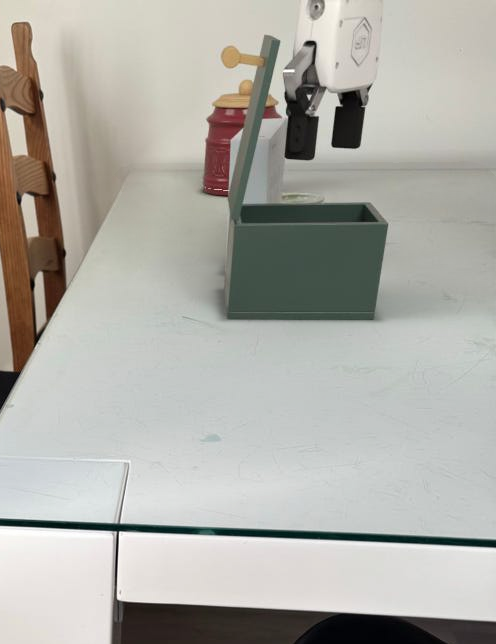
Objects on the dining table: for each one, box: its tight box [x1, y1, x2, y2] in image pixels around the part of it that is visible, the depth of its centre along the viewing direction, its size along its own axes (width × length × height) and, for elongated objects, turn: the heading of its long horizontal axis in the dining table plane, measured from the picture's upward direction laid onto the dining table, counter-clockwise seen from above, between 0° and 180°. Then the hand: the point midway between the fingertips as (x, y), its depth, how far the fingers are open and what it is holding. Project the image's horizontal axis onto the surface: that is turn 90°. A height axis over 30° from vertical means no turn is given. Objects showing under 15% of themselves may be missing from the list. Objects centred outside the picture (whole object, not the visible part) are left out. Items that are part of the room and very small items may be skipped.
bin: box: [223, 201, 389, 321], centre depth 112 cm, size 16×13×10 cm
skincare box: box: [224, 117, 288, 271], centre depth 131 cm, size 21×6×16 cm, turn 162°
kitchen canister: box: [202, 79, 283, 197], centre depth 176 cm, size 13×13×18 cm
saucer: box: [282, 192, 325, 203], centre depth 160 cm, size 10×10×2 cm
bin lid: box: [220, 34, 281, 221], centre depth 106 cm, size 16×13×5 cm
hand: (322, 153), depth 106 cm, fingers open, 9 cm apart
